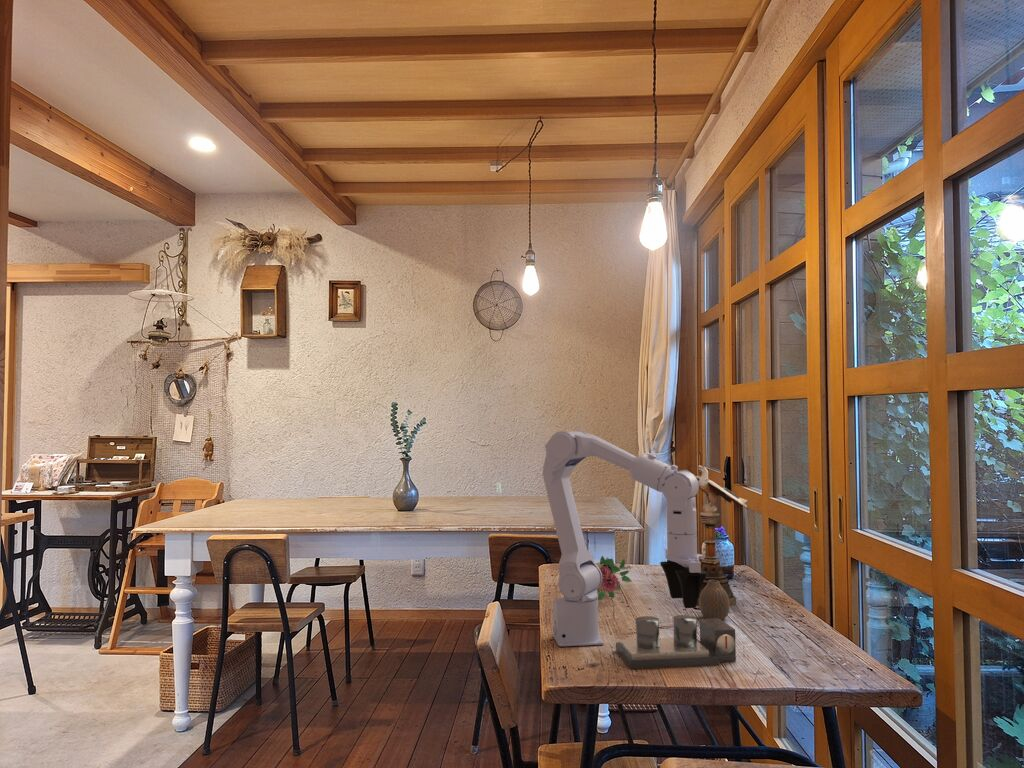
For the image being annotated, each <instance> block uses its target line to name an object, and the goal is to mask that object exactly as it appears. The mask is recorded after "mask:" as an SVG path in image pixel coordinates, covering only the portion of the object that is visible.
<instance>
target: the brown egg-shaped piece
mask: <svg viewBox="0 0 1024 768" xmlns="http://www.w3.org/2000/svg"><path fill="white" fill-rule="evenodd" d="M698 607H699V611H700V613H701V615H702V616H703V617H704V619H713V618H719V619H720V620H722V621H724V620H725V619H726V618H727V617H728V614H729V612H730V607H731V606H730V602H729V597H728V595H727V593H726V591H725V590H724V589H723V587H722V586H721V585H720V582H719V581H718V580H709V581H708V583H707V585H706V586H705V587H704V589H703V590H702V592H701V594H700V597H699V605H698Z"/></svg>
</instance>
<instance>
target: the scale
mask: <svg viewBox="0 0 1024 768" xmlns="http://www.w3.org/2000/svg"><path fill="white" fill-rule="evenodd" d="M659 638H660V647H658V648H656V649H643V648H639V647H638V646H637V638H630V639H619V642H615V651H616V652H617V653H618V655H619V656H620V658H621V659H622V660H623V661H624V662H625V664H626V665H627V666H628V668H630V670H640V669H641V670H642V669H643V670H645V669H663V668H665V669H666V668H683V667H685V668H687V667H701V666H703V667H704V666H707V667H708V666H719V665H720V663H730V662H731V663H732V662H734V663H735V662H736V661H737V647H736V629H735V628H733V626H731V625H729V624H728V623H726V622H725V621H724V620H720V619H719V618H713V619H706V618H699V639H698V638H697V646H695V647H691V648H685V647H679V646H676V645H674V637H659Z"/></svg>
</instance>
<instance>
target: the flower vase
mask: <svg viewBox="0 0 1024 768" xmlns="http://www.w3.org/2000/svg"><path fill="white" fill-rule="evenodd" d="M599 560H600V561H599V562H595V563H596V565H597V566H598V567H599V569H600V571H601V573H602V583H601V585H600V587H599V588H604V590H600V592H599V593H598V601H600V600H602V599H603V598H604V597H605V596H606V594H608V595H609V597H611V598H613V599H614V598H615V597H614V596H615V591H616V590H617V591H619V592H620V591H621V584H620V580H619V578H621V581H623V582H626V583H632V580H631V579H630V577H629V576H627V575H628V573H629V572H630V570H625V571H624V570H623V571H621V569H624V568H625V565H626V559H625V558H623V559H622V560H621V562H620V564H619V566H618V565H616V563H615V562H614V559H613V558H610V557H608V556H606V557H604V556H603V555H601V557H600V558H599ZM618 572H619V573H618ZM617 574H618V575H620V577H619V576H617ZM606 592H607V593H606Z"/></svg>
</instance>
